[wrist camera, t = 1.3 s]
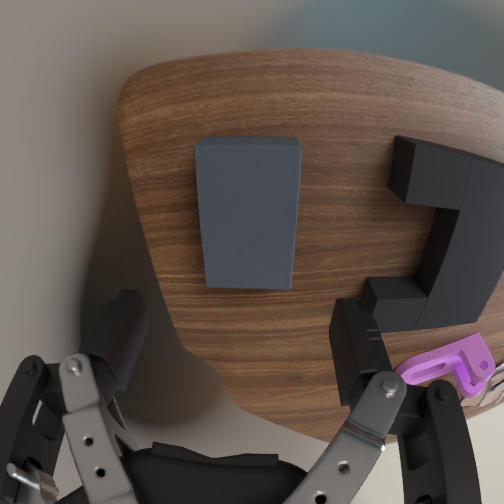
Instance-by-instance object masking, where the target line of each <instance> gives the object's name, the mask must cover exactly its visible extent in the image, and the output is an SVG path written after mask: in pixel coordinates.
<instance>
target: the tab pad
mask: <svg viewBox="0 0 504 504" xmlns="http://www.w3.org/2000/svg"><path fill="white" fill-rule="evenodd" d="M194 155H195V171H196V185H197V198H198V210H199V221H200V232H201V242H202V252H203V261H204V270H205V279H206V286H207V287H218V288H246V289H288V290H290V288H291V278H292V269H293V259H294V248H295V237H296V226H297V214H298V201H299V187H300V172H301V155H302V146H301V145H300V143H299V142H298V140H297V139H296V138H286V137H205V138H203V139H202V140H201V141H200V142H198V143H197V144H196V145H195V146H194Z"/></svg>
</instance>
